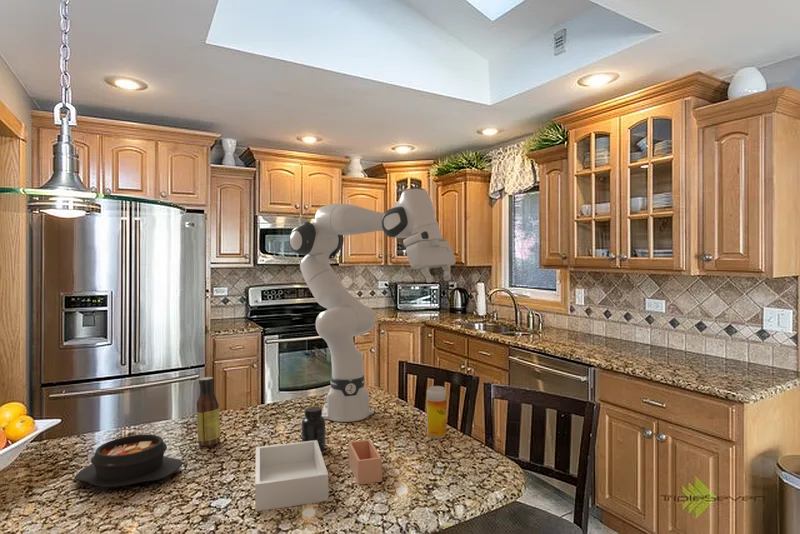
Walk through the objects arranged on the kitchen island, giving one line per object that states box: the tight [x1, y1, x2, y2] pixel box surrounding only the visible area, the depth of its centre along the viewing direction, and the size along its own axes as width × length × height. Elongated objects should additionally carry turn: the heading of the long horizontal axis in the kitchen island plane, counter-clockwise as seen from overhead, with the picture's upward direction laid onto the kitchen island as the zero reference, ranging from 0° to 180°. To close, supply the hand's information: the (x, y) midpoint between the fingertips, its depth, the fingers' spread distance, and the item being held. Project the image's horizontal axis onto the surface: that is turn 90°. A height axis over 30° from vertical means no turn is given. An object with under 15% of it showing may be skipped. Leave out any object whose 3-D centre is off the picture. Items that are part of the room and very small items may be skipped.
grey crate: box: [254, 440, 330, 512], centre depth 116 cm, size 22×16×6 cm
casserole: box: [74, 434, 183, 488], centre depth 121 cm, size 25×19×8 cm
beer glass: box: [426, 385, 448, 440], centre depth 147 cm, size 6×6×15 cm
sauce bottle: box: [196, 376, 221, 447], centre depth 143 cm, size 7×6×20 cm
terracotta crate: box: [347, 439, 383, 486], centre depth 122 cm, size 13×6×6 cm, turn 16°
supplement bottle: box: [301, 406, 326, 453], centre depth 137 cm, size 7×7×12 cm
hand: (439, 281), depth 142 cm, fingers open, 8 cm apart
